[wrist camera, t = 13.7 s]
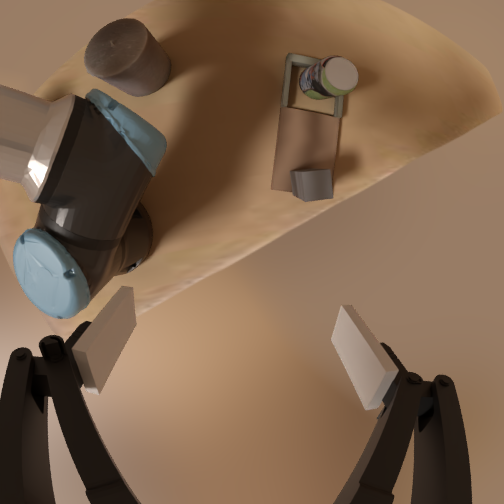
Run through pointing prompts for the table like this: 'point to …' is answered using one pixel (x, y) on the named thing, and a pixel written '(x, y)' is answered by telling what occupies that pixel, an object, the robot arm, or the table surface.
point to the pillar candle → (128, 58)
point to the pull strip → (305, 144)
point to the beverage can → (329, 78)
